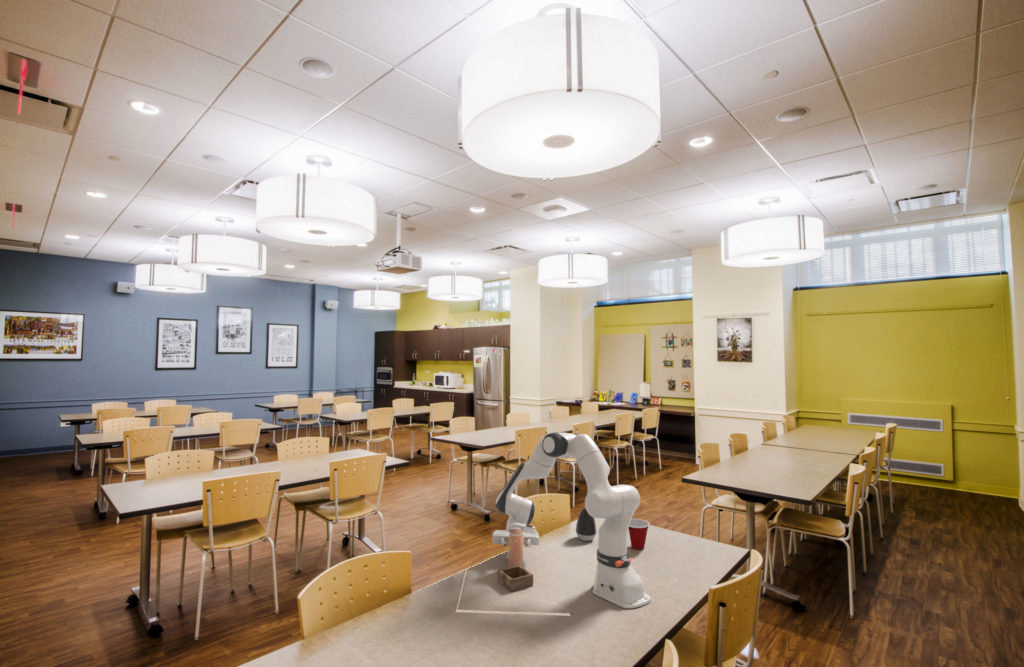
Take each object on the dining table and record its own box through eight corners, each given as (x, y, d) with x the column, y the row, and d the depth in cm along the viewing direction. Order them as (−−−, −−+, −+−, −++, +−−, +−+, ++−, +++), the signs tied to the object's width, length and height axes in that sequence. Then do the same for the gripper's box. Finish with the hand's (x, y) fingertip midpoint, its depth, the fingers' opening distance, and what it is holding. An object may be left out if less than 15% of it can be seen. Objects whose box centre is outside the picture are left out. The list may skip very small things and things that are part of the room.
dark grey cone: (595, 536, 240) (595, 505, 241) (597, 543, 230) (597, 511, 231) (575, 534, 241) (575, 504, 242) (575, 542, 231) (576, 510, 232)
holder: (533, 587, 183) (533, 574, 183) (510, 593, 178) (511, 580, 178) (519, 577, 192) (519, 564, 192) (497, 583, 186) (498, 569, 187)
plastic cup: (621, 545, 229) (621, 519, 230) (638, 542, 234) (639, 517, 234) (635, 553, 219) (636, 527, 220) (654, 550, 224) (654, 524, 224)
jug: (508, 567, 201) (509, 528, 202) (522, 567, 201) (523, 529, 202) (507, 576, 192) (508, 536, 193) (522, 577, 192) (523, 536, 193)
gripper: (492, 524, 213) (491, 536, 199) (538, 526, 213) (539, 537, 199) (492, 539, 213) (490, 551, 199) (537, 540, 213) (539, 553, 199)
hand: (515, 544), depth 199 cm, fingers open, 8 cm apart
